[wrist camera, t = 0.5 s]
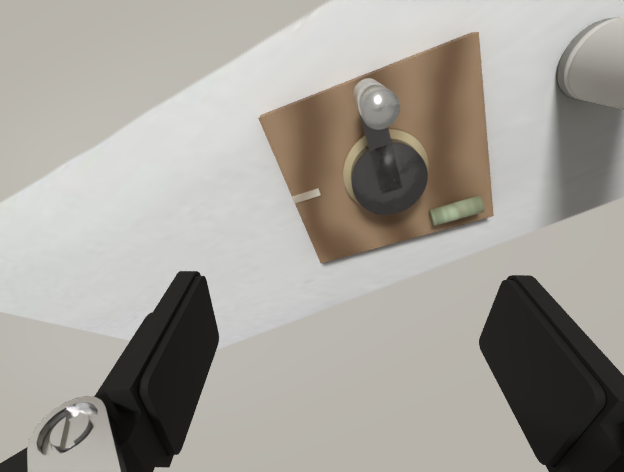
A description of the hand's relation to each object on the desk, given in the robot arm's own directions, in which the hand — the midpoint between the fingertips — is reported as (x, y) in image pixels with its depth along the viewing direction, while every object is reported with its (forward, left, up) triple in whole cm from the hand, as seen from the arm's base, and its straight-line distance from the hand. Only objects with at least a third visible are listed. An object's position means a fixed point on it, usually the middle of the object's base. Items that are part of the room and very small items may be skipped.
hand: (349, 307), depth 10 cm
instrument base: (-4, +5, -25) cm, 26 cm away
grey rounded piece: (-4, +3, -23) cm, 23 cm away
